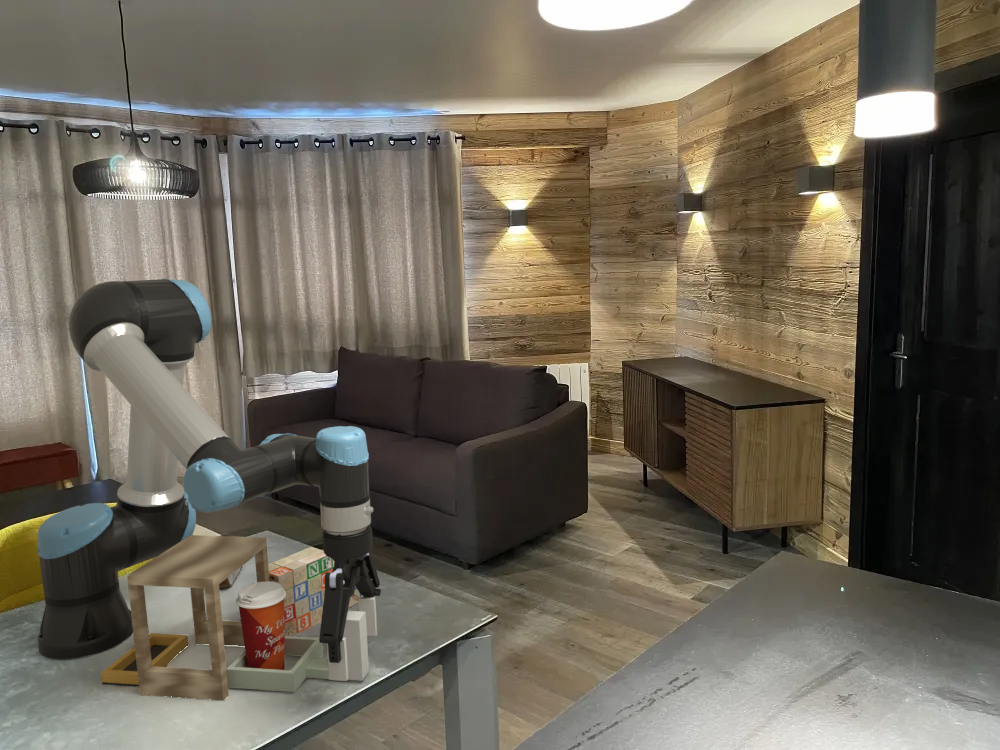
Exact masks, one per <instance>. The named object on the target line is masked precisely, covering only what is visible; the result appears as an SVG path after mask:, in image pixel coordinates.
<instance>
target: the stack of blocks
mask: <svg viewBox="0 0 1000 750" xmlns="http://www.w3.org/2000/svg"><path fill="white" fill-rule="evenodd" d="M333 567H334V560H333V559H331V558H330V557H328V556H326V555H325V554H324V551H323V549H319V548H316V547H313V546H310V547H307V548H304V549H303V550H300V551H298V552H295V553H292V554H290V555H287V556H285V557H282V558H281V559H278V560H276V561H273V562H272V563H271V562H270V563H268V568H269V581H270V582H277V583H279V584H281V586H282V588H283V590H285V592H286V597H285V598H284V618H285V636H296V635H298V634H299V633H301V632H304V631H306V630H308V629H310V628H311V627H314V626H316V625H318V624H321V620H322V611H323V602H324V593H325V574H326V573H332V572H333ZM343 589H347V588H343ZM359 597H363V595H360V593H359V591H358V589H357V588H356V586H355V592H354V595H352V596H351V597H350V602H349V607H348V609H349V608H351V607H353V606H355V605H358V604H359V603H358V598H359Z"/></svg>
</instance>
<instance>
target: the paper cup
mask: <svg viewBox="0 0 1000 750" xmlns="http://www.w3.org/2000/svg"><path fill="white" fill-rule="evenodd" d="M285 597H286V592H285V590H283V588H282V586H281V584H279V583H277V582H270V581H266V582H257V581H256V582H255V583H251V584H248V585H245V586H243V587H242V588H241V589H240V590H239V591H238V594H237V598H236V599H235V603H236V605H237V606H238V611H239V617H240V621H241V625H242V632H243V639H244V646H245V648H244V651H245V652H246V659H247V665H248V668H259V669H275V670H285V668H286V667H285V665H286V655H285V618H284V598H285Z"/></svg>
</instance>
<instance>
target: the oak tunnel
mask: <svg viewBox="0 0 1000 750" xmlns="http://www.w3.org/2000/svg"><path fill="white" fill-rule="evenodd" d="M229 536H230V535H227V536H222V535H190V536H189V537H187V538H186V539H184V540H182V541H181V542H179V543H178V544H176V545H174V546H173V547H171V548H170V549H168V550H167V551H165V552H163V553H162V554H160V555H159V556H157V557H154V558H152V559H150V560H148V561H147V562H146V563H145V564H142V566H140V567H138V568H137V569H135V570H134V571H131V572H130V573H129V574H126V575H127V586H128V595H129V605H130V611H131V616H132V626H133V633H132V635H133V641H134V642H133V643H134V646H135V654H136V663H137V673H138V682H139V687H138V690H139V695H140V696H151V695H152V697H153V695H154V697H163V696H167V697H166V698H177V697H181V698H180V699H191V698H196V699H195V700H205V699H207V701H208V700H209V699H211V700H209V701H219V700H224V699H225V698H226V697H228V696H230V695H229V687H228V683H227V671H226V669H227V664H226V663H227V662H226V661H227V660H226V650H225V646H224V645H238V646H244V639H243V632H242V625H241V620H240V621H238V620H223V617H222V616H223V615H222V605H221V604H222V603H221V593H220V588H219V584H220V583H221V582H223V581H224V580H225V579H226V578H228V577H229V576H230V575H231V574H233V573H234V572H235V571H236V570H238V569H239V568H240V567H241V566H242V567H243V566H244V565H245V564H246V563H248V562H249V561H250V560H251V559H253V558H254V559H255V561H254V562H255V574H256V583H257V582H266V581H269V568H268V564H269V559H268V557H269V556H268V547H267V546H268V545H267V543H268V542H267V537H256V536H253V537H251V536H241V537H229ZM147 586H148V587H168V588H169V587H170V588H189V589H190V597H191V609H192V622H193V629H194V631H193V632H194V639H195V643H194V644H195V645H196V644H209V645H208V646H209V656H210V666H211V669H201V668H200V669H199V668H185V667H184V668H183V667H171V666H169V667H167V666H165V667H156V666H152V660H151V650H150V641H149V634H150V633H149V622H148V614H147V613H148V612H147V603H146V594H145V587H147ZM171 696H172V697H171ZM185 697H186V698H185ZM226 699H227V698H226ZM226 699H225V700H226ZM225 700H224V701H225Z"/></svg>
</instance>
